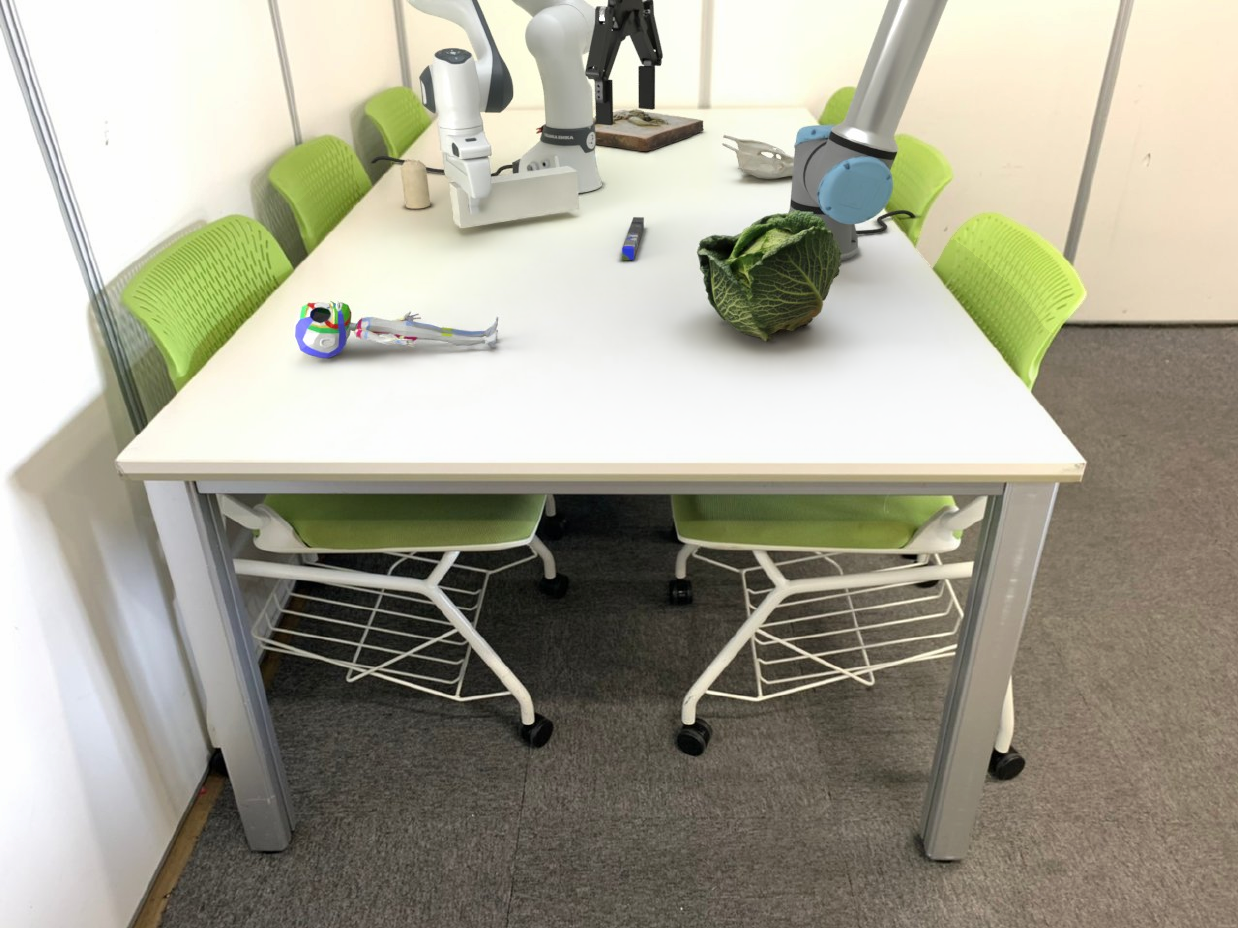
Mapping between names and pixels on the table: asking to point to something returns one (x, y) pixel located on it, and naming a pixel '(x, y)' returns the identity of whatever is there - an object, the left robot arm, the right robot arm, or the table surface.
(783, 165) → the anatomical model
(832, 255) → the vegetable
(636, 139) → the plaque
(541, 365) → the table surface
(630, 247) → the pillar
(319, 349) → the toy
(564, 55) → the left robot arm
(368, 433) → the table surface
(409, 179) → the candle
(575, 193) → the bar
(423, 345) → the table surface
